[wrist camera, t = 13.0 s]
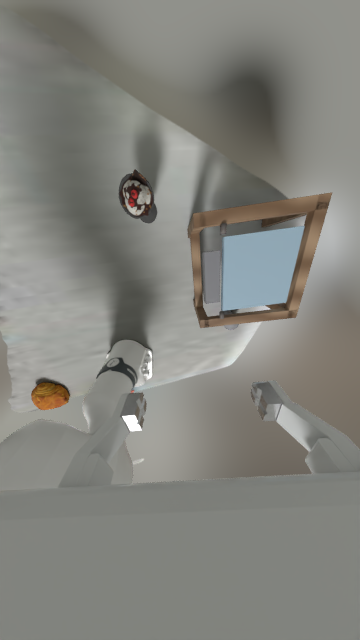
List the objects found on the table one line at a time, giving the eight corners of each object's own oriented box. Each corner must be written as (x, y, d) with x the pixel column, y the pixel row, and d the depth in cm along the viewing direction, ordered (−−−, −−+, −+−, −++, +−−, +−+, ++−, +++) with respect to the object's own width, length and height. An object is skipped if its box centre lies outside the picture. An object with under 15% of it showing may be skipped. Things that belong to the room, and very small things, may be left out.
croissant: (47, 395, 70) (32, 412, 64) (35, 378, 62) (17, 396, 55) (75, 399, 72) (64, 416, 65) (68, 383, 63) (54, 401, 56)
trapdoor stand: (258, 297, 45) (297, 318, 30) (193, 304, 46) (200, 329, 31) (270, 217, 35) (335, 191, 21) (187, 229, 36) (193, 212, 22)
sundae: (144, 232, 37) (124, 220, 23) (129, 205, 34) (96, 174, 21) (165, 218, 35) (156, 196, 22) (150, 188, 33) (131, 143, 19)
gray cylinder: (233, 322, 49) (238, 328, 45) (219, 323, 50) (223, 330, 45) (234, 309, 47) (239, 315, 43) (219, 311, 47) (224, 317, 43)
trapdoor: (278, 299, 32) (286, 302, 29) (204, 308, 32) (206, 313, 29) (293, 228, 25) (304, 225, 23) (201, 240, 26) (204, 239, 23)
